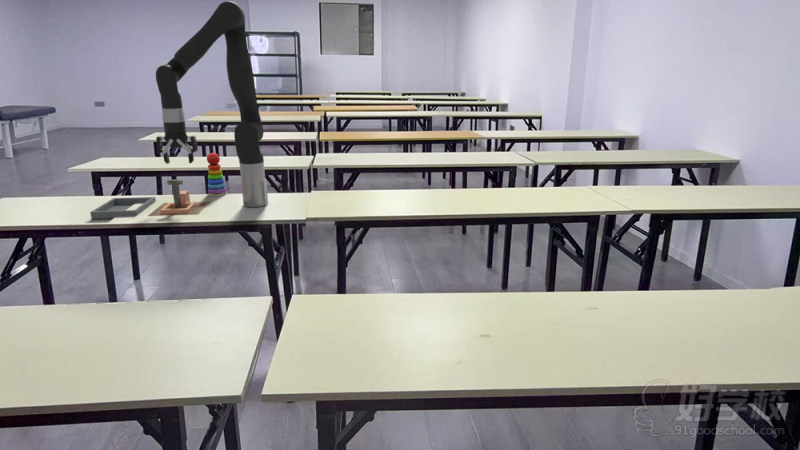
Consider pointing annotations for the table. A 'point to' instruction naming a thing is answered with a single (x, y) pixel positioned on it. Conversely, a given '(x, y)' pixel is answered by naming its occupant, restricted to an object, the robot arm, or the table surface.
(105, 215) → the tray
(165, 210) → the tan piece
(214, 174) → the stacking toy
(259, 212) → the table surface
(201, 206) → the stake board
